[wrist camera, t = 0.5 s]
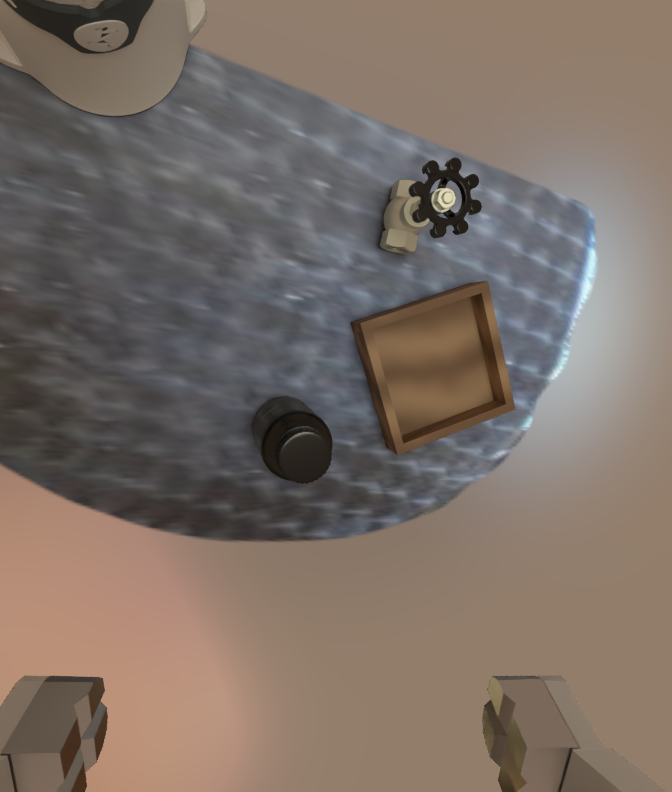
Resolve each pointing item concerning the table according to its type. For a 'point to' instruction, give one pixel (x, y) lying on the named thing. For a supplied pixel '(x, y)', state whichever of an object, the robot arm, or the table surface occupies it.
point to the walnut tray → (434, 366)
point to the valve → (427, 207)
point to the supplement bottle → (292, 440)
